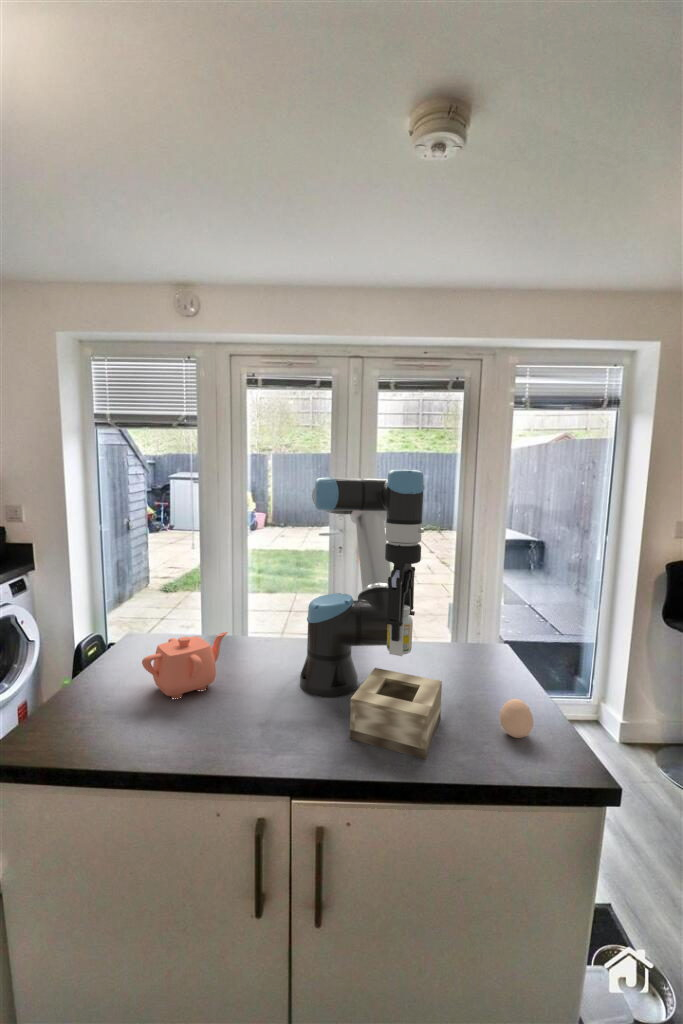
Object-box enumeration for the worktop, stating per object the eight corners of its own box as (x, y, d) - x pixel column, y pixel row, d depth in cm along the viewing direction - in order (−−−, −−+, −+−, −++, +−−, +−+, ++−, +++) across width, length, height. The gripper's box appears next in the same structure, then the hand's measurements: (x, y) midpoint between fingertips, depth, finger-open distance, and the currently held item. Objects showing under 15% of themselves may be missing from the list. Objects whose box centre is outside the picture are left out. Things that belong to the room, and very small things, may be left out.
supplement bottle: (402, 657, 89) (404, 612, 89) (381, 650, 93) (383, 606, 92) (416, 649, 94) (417, 606, 93) (395, 643, 97) (396, 601, 96)
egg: (515, 748, 88) (517, 711, 88) (492, 730, 94) (494, 695, 94) (539, 740, 91) (541, 705, 90) (515, 724, 97) (517, 690, 96)
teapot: (139, 702, 103) (138, 649, 102) (167, 672, 118) (167, 626, 117) (209, 705, 102) (209, 651, 101) (228, 674, 118) (228, 628, 117)
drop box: (349, 738, 90) (350, 698, 90) (374, 702, 105) (375, 667, 104) (425, 759, 84) (427, 716, 83) (440, 718, 99) (441, 681, 98)
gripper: (410, 550, 81) (406, 669, 83) (429, 538, 98) (425, 637, 100) (372, 547, 84) (369, 662, 86) (397, 536, 101) (394, 632, 103)
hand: (399, 649), depth 93 cm, fingers closed on supplement bottle, 5 cm apart
